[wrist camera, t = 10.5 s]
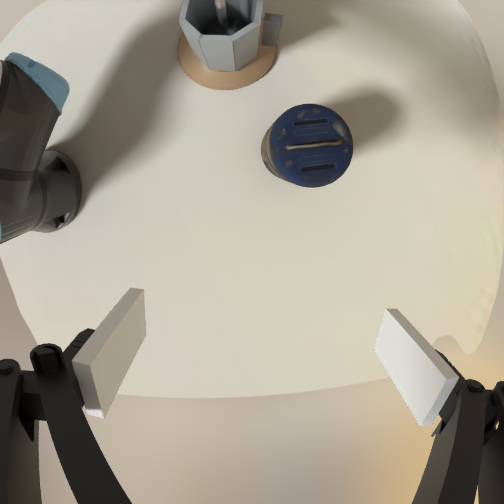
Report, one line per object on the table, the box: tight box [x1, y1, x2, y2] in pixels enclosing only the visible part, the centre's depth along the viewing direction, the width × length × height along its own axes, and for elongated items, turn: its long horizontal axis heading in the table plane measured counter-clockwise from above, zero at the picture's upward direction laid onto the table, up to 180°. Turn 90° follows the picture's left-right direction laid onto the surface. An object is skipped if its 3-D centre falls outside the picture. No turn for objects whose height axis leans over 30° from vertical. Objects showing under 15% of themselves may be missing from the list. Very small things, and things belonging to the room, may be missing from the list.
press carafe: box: [178, 0, 283, 90], centre depth 34 cm, size 16×16×14 cm
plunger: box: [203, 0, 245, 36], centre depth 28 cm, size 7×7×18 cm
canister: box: [261, 104, 353, 188], centre depth 37 cm, size 10×10×18 cm
